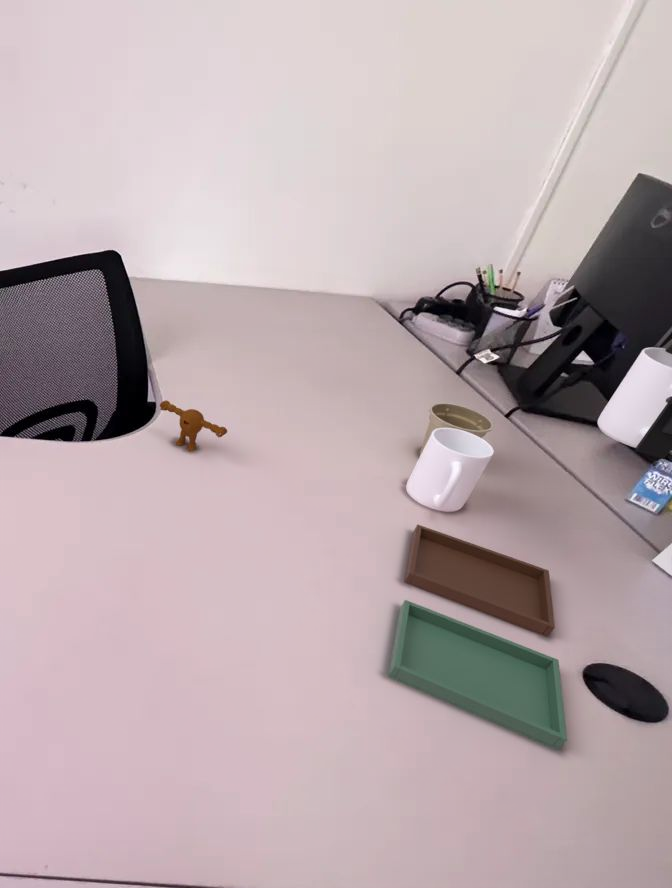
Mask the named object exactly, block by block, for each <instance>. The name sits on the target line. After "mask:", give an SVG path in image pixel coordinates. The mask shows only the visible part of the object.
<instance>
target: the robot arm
mask: <svg viewBox="0 0 672 888" xmlns="http://www.w3.org/2000/svg"><path fill="white" fill-rule="evenodd" d="M653 347H655V348H665V349H666V350H665V351H666V352H668V353H670V354H672V326H671V327H670V328H669V329H668V330H667V331H666V333H665V334H664V335H663V336H662V337H661V338H660V339H659V341H658V342H657V343H656V344H655V345H654V346H653ZM666 402H667V405H666V406H665V407H664V409H663V410H662V412H661V413H660V414H659V416H658V417H657V419H656V420H655V421H654V423H653V424H652V426H651V427H650V428H649V430H648V431H647V433H646V434H645V436H644V437H643V438H642V440H641V441H640V443H639V444H638V445H637V447H636V448H635V447H634V449H635V451H636V452H638V453H641V454H643V455H648V456H652V457H654V458H658V459H661V460H665V459H666V457H667V456H668V454H669V453H670V452H671V450H672V396H671V397H669V398H666Z"/></svg>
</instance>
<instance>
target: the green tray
mask: <svg viewBox="0 0 672 888" xmlns="http://www.w3.org/2000/svg"><path fill="white" fill-rule="evenodd" d="M401 604H402V605H401V606H400V608H399V609H398V610H399V611H398V616H397V621H396V628H395V633H394V638H393V639H394V640H393V646H392V651H391V657H390V663H389V669H388V674H387V676H388V678H391V679H393V680H395V681H398V682H400V683H402V684H404V685H406V686H409V687H412V688H414V689H416V690H419V691H420V692H423V693H425V694H427V695H430V696H432V697H435V698H437V699H439V700H441V701H444V702H445V703H448V704H450V705H453V706H455V707H457V708H459V709H462V710H464V711H467V712H469V713H471V714H474V715H475V716H478V717H480V718H482V719H485V720H487V721H490V722H492V723H494V724H497V725H498V726H501V727H503V728H505V729H508V730H510V731H513V732H514V733H517V734H520V735H521V736H524V737H526V738H529V739H531V740H533V741H535V742H537V743H540V744H542V745H544V746H547V747H548V748H552V749H553V750H556V751H559V750H560V749H561V748H562V747H563V745H564V744H565V743H566V742H567V741H568V735H567V726H566V719H565V718H566V715H565V707H564V699H563V697H564V696H563V688H562V679H561V671H560V670H561V669H560V662H559V661H560V660H559V659H557V658H555V657H552V656H550V655H547V654H545V653H542V652H539V651H538V650H534V649H532V648H529V647H526V646H524V645H522V644H519V643H517V642H514V641H512V640H509V639H507V638H504V637H501V636H499V635H496V634H494V633H491V632H489V631H487V630H483V629H481V628H478V627H477V626H473V625H471V624H469V623H466V622H463V621H460V620H458V619H456V618H453V617H450V616H448V615H446V614H443V613H440V612H438V611H435V610H433V609H430V608H428V607H425V606H423V605H420V604H418V603H415V602H412V601H409V600H407V599H404V601H403V603H401Z"/></svg>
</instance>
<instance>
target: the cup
mask: <svg viewBox="0 0 672 888" xmlns="http://www.w3.org/2000/svg"><path fill="white" fill-rule="evenodd" d="M494 453H495V451H494V448H493V446H492V445H491V444H490V443H489V442H487V441H486V440H485V439H483V437H482V438H480V437H478V436H476V435H474V434H471V433H469V432H466V431H463V430H459V429H454V428H438V429H435V430H434V431H433V432H432V434H431V436H430V438H429V440H428V442H427V444H426V446H425V448H424V450H423V452H422V454H421V456H420V455H419V458H418V460H417V461H416V464H415V465H414V468H413V469H412V472H411V474H410V475H409V478H408V479H407V482H406V485H405V488H406V489H405V490H406V492H407V494H408V495H409V496H410V498H412V499H413V500H414V501H416V502H417V503H418V504H420V505H423V506H424V507H426V508H429V509H432V510H435V511H439V512H446V513H452V512H457V511H459V510H461V509H462V508H463V507H464V505H465V504H466V502H467V500H468V499H469V497H470V495H472V492H473V490H474V488H475V487H476V485H477V483H478V482H479V479H480V478H481V476H482V474H483V473H484V471H485V469H486V468H487V466H488V465H489V463H490V460H491V459H492V458H493V455H494Z"/></svg>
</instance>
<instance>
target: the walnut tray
mask: <svg viewBox="0 0 672 888" xmlns="http://www.w3.org/2000/svg"><path fill="white" fill-rule="evenodd" d="M406 562H407V563H406V568H405V573H404V574H405V575H404V580H403V583H404V584H407V585H409V586H412V587H415V588H418V589H419V590H422V591H425V592H427V593H429V594H433V595H435V596H438V597H441V598H443V599H446V600H448V601H451V602H453V603H456V604H459V605H461V606H464V607H466V608H469V609H472V610H475V611H477V612H479V613H482V614H485V615H487V616H490V617H493V618H495V619H498V620H500V621H503V622H506V623H508V624H511V625H514V626H516V627H518V628H522V629H524V630H527V631H529V632H532V633H535V634H537V635H540V636H541V637H542V636H543V637H545V638H548V637H549V636H550V635H551V633H552V632H553V631H554V630H555V628H556V626H555V624H556V623H555V616H554V607H553V599H552V588H551V579H550V570H548V569H546V568H543V567H541V566H538V565H534V564H532V563H529V562H526V561H523V560H520V559H517V558H515V557H511V556H508V555H507V554H503V553H500V552H497V551H495V550H491V549H488V548H486V547H484V546H480V545H478V544H476V543H475V544H474V543H472V542H469V541H466V540H463V539H461V538H458V537H455V536H453V535H449V534H446V533H444V532H441V531H437V530H435V529H432V528H430V527H426V526H424V525H420V524H416V526H415V528H414V529H413V532H412V533H411V539H410V546H409V551H408V557H407V561H406Z"/></svg>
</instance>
